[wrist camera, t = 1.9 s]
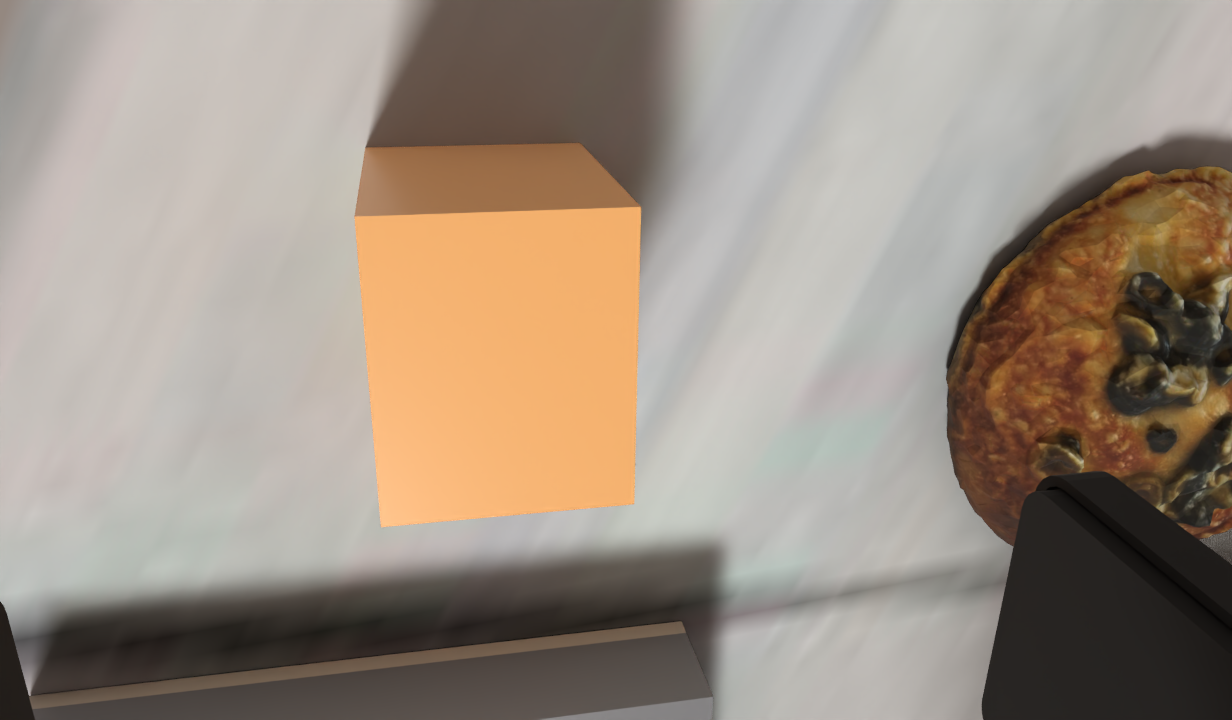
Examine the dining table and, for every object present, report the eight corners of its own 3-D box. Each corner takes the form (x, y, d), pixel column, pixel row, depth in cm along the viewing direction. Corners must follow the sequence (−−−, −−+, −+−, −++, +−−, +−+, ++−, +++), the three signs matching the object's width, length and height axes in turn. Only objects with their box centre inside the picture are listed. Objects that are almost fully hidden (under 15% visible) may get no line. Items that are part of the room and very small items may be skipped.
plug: (579, 142, 22) (641, 206, 16) (580, 377, 24) (634, 503, 18) (365, 147, 21) (354, 216, 15) (384, 389, 23) (381, 526, 17)
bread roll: (881, 544, 27) (993, 637, 23) (972, 130, 25) (1120, 137, 20) (1202, 557, 31) (1359, 640, 26) (1310, 190, 28) (1504, 209, 24)
